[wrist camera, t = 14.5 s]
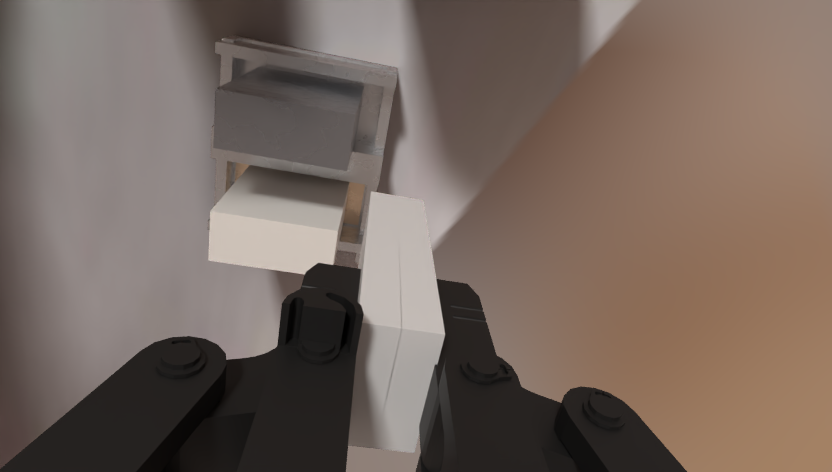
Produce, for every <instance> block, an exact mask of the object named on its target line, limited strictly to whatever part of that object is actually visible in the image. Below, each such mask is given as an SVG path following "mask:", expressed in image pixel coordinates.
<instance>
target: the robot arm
mask: <svg viewBox="0 0 832 472" xmlns="http://www.w3.org/2000/svg"><path fill="white" fill-rule="evenodd" d="M482 311H483V308H482V305H481V302H480V298H479V296H478V295H477V294H476V293H475V292H474V291H473V290H472V288H471V287H470V286H469V285H468V284H464V283H458V282H452V281H445V280H439V279H436V275H435V269H434V263H433V256H432V250H431V244H430V238H429V232H428V225H427V219H426V213H425V207H424V201H423V200H419V199H413V198H408V197H402V196H396V195H390V194H384V193H378V192H372V191H371V194H370V200H369V206H368V212H367V218H366V224H365V229H364V235H363V241H362V247H361V253H360V259H359V264H358V269H357V268H350V267H343V266H337V265H330V264H324V263H317V264H316V265H314V266H313V267H312V268H310V269H309V270H308V271H306V273H305V276H304V279H303V283H302V287H301V289H300V290H298V291H296V292H294V293H292V294H290V295H288V296H287V297H286V299H285V300H284V301H283V303H282V310H281V319H280V328H279V337H278V345H277V347H276V348H275V349H273V350H271V351H269V352H268V353H265V354H262V355H259V356H255V357H249V358H242V359H230V360H226V354H225V352H224V351H223V350H222V349H221V348H220V347H219V346H218V345H217V344H215V343H213V342H211V341H209V340H206V339H203V338H196V337H190V336H187V337H172V338H168V339H165V340H161V341H158V342H155V343H153V344H151V345H150V346H148V347H146V348H145V349H143V350H141V351H140V352H139V353H138V354H136V355H135V356H134V357H133V358H132V359H131V360H129V361H128V362H127V363H126V364H125V365H123V366H122V367H121V368H120V369H119V370H117V371H116V372H115V373H114V374H113V375H111V376H110V377H109V378H108V379H107V380H106V381H104V382H103V383H102V384H101V385H100V386H98V387H97V388H96V389H95V390H94V391H92V392H91V393H90V394H89V395H88V396H87V397H85V398H84V399H83V400H82V401H81V402H79V403H78V404H77V405H76V406H75V407H73V408H72V409H71V410H70V411H69V412H67V413H66V414H65V415H64V416H63V417H62V418H60V419H59V420H58V421H57V422H56V423H54V424H53V425H52V426H51V427H50V428H48V429H47V430H46V431H45V432H44V433H43V434H41V435H40V436H39V437H38V438H37V439H35V440H34V441H33V442H32V443H31V444H29V445H28V446H27V447H26V448H25V449H23V450H22V451H21V452H20V453H19V454H18V455H16V456H15V457H14V458H13V459H12V460H10V461H9V462H8V463H7V464H6V465H4V466H3V467H2V468H1V469H0V472H346V462H347V451H348V445H349V446H357V447H367V448H376V449H385V450H393V451H402V452H411V453H414V452H415V448H416V445H417V441H418V437H419V433H420V447H421V454H420V457H419V461H418V465H417V468H416V472H687V471H686V470H685V469H684V468H683V467H682V465H681V464H680V463H679V462H678V461H677V460H676V458H675V457H674V456H673V455H672V454H671V453H670V452H669V450H668V449H667V448H666V447H665V446H664V445H663V444H662V442H661V441H660V440H659V439H658V438H657V437H656V435H655V434H654V433H653V432H652V431H651V430H650V429H649V427H648V426H647V425H646V424H645V423H644V422H643V421H642V420H641V418H640V417H639V416H638V415H637V414H636V413H635V412H634V411H633V410H632V409H631V408H630V407H629V406H628V405H627V404H625V402H623V401H622V400H620V399H618V398H617V397H615V396H613V395H612V394H610V393H608V392H605V391H602V390H599V389H596V388H589V387H578V388H573V389H570V390H569V391H568V392H567V394H565V395H564V398H563V400H562V403H560V402H557V401H554V400H552V399H548V398H546V397H543V396H540V395H538V394H535V393H533V392H530V391H528V390H526V389H524V388H522V387H521V385H520V382H519V379H518V376H517V374H516V373H515V371H514V369H513V368H512V366H510V365H509V364H508V363H507V362H506V361H504V360H503V359H502V358H500V357H498V356H497V355H496V352H495V349H494V346H493V342H492V339H491V336H490V332H489V329H488V325H487V323H486V318H485V315H484V312H482Z"/></svg>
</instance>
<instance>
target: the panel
mask: <svg viewBox="0 0 832 472" xmlns="http://www.w3.org/2000/svg"><path fill="white" fill-rule="evenodd" d="M348 189H349V182H347V181H341V180H335V179H330V178H324V177H318V176H312V175H306V174H300V173H295V172H289V171H283V170H277V169H271V168H266V167H260V166H254V165H249V166H248V168H247V169H246V170H245V171H244V172H243V173H242V175H241V176H240V177H239V178H238V179H237V181H236V182H235V183H234V184H233V185H232V186H231V188H230V189H229V190H228V191H227V192H226V193H225V195H224V196H223V197H222V198H221V199H220V200H219V202H218V203H217V204H216V205H215V206H214V207H213V209H212V210H211V211H210V234H209V261H215V262H222V263H229V264H236V265H243V266H250V267H257V268H264V269H270V270H277V271H284V272H291V273H298V274H305V273H306V271H308V270H309V269H310V268H312V267H313V266H314V265H316V264H317V263H324V264H330V265H334V263H335V259H336V254H337V249H338V245H339V240H340V235H341V230H342V226H343V221H344V216H345V209H346V203H347V196H348Z"/></svg>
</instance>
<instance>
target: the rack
mask: <svg viewBox="0 0 832 472" xmlns="http://www.w3.org/2000/svg"><path fill="white" fill-rule="evenodd" d="M215 54H220V55H221V71H220V87H218V88H216V95H215V118H214V125H213V126H212V137H211V158H213V159H216V179H215V200H214V206H215V205H216V204H217V203H218V202H219V200H220V199H221V198H222V197H223V196H224V195H225V193H226V192H227V191H228V190H229V189H230V188H231V186H232V185H233V184H234V183H235V182H236V181H237V179H238V178H239V177H240V176H241V175H242V173H243V172H244V171H245V170H246V169H247V168H248V166H249V165H254V166H260V167H266V168H271V169H277V170H283V171H289V172H295V173H300V174H306V175H312V176H318V177H324V178H330V179H335V180H341V181H347V182H349V189H348V196H347V203H346V209H345V216H344V221H343V226H342V230H341V235H340V240H339V245H338V249H337V250H340V251H347V252H353V253H356V257H355V263H359V259H360V253H361V247H362V241H363V235H364V229H365V224H366V218H367V212H368V206H369V200H370V194H371V191H372V192H377V187H378V185H379V180H380V174H381V168H382V163H383V157H384V147H385V142H386V136H387V130H388V125H389V119H390V113H391V108H392V102H393V96H394V91H395V89H396V83H397V78H398V77H397V74H398V71H397V68H396V67H391V66H386V65H381V64H376V63H371V62H366V61H361V60H356V59H351V58H346V57H341V56H336V55H331V54H326V53H321V52H316V51H311V50H306V49H301V48H296V47H291V46H286V45H281V44H276V43H271V42H266V41H261V40H256V39H251V38H246V37H241V36H236V35H232V36H227V37H223V38H222V40H220V41H215ZM208 230H210V219H209V220H208Z"/></svg>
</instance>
